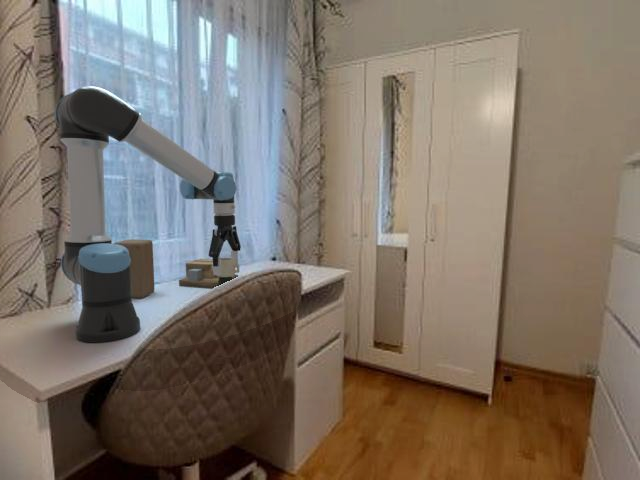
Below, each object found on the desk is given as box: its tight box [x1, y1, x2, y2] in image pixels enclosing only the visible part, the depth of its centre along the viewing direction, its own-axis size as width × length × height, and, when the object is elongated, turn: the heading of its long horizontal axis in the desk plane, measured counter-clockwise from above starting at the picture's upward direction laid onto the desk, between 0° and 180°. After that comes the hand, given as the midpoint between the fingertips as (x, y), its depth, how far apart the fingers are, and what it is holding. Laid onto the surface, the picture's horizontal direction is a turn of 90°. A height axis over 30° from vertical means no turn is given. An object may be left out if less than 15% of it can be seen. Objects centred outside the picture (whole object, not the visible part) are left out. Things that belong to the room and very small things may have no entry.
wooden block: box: [113, 238, 155, 299], centre depth 140 cm, size 10×10×20 cm
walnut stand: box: [178, 258, 239, 290], centre depth 160 cm, size 16×18×8 cm
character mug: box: [212, 256, 240, 286], centre depth 144 cm, size 11×7×13 cm, turn 81°
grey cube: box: [188, 269, 203, 281], centre depth 155 cm, size 4×4×4 cm
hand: (226, 271), depth 144 cm, fingers open, 13 cm apart
